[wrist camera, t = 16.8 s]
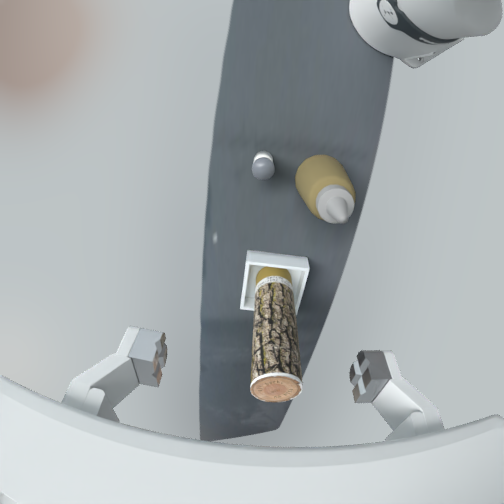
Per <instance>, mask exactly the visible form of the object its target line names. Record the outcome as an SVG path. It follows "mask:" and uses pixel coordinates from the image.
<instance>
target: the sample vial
mask: <svg viewBox="0 0 504 504" xmlns="http://www.w3.org/2000/svg"><path fill="white" fill-rule="evenodd" d="M274 171H275V167H274V164H273V158H272V155H271V154H270V153H269V152H267V151H260V152H258V153H257V154H256V155H255V157H254V163H253V165H252V172H253V175H254V176H255V177H256V178H258V179H260V180H267V179H269V178H271V177H272V176H273V174H274Z"/></svg>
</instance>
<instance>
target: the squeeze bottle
mask: <svg viewBox="0 0 504 504" xmlns="http://www.w3.org/2000/svg"><path fill="white" fill-rule="evenodd" d="M295 182H296V188H297V190H298V192H299V194H300V196H301V197H302V199H303V200H304V202H305V203H306V205H307V206H308V208H309V209H310V211H311V212H312V213H313V214H314V215H315V216H316V217H317V218H318V219H321V220H325V221H326V222H329V223H341V224H345V223H347V222H348V218H349V217H350V216H351V214H352V212H353V210H354V204H355V194H356V193H355V190H354V188H353V185H352V183H351V181H350V179H349V177H348V175H347V174H346V172H345V170H344V168H343V166H342V165H341V164H340V163H339V162H338V161H337V160H336V159H335V158H333V157H330V156H327V155H314V156H312V157H310V158H308V159H306V160H305V161H304V162H303V163H302V164H301V165H300V166H299V167H298V170H297V173H296V176H295Z"/></svg>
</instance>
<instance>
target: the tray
mask: <svg viewBox="0 0 504 504" xmlns="http://www.w3.org/2000/svg"><path fill="white" fill-rule="evenodd" d="M266 266H267V267H276V268H284V269H287V270H288V271H289V273H290V275H291V278H292V287H293V294H294V303H295V312H296V315H297V312H298V309H299V305H300V302H301V298H302V295H303V291H304V288H305V284H306V280H307V277H308V273H309V269H310V268H309V263H308V259H307V257H302V256H294V255H286V254H278V253H269V252H261V251H253V250H247V257H246V265H245V273H244V281H243V289H242V296H241V306H240V309H245V310H254V304H255V286H256V276H257V274H258V272H259V271H260V270H261V269H262V268H264V267H266Z"/></svg>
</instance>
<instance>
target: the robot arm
mask: <svg viewBox="0 0 504 504" xmlns="http://www.w3.org/2000/svg"><path fill="white" fill-rule="evenodd" d="M349 11H350V17H351V20H352V22H353V25H354V27H355V29H356V30H357V32H358V33H359V34H360V36H361V37H362V38H363V39H364V40H365V41H366V42H367V43H368V44H369V45H370V46H372V47H373V48H375V49H376V50H378V51H380V52H382V53H384V54H386V55H389V56H393V57H396V58H398V59H400V60H401V61H403V62H404V63H405V64H407V65H408V66H409V67H411V68H418V67H420V66H421V65H423V64H424V63H426V62H428V61H429V60H431V59H432V58H434V57H436V56H437V55H439V54H440V53H442V52H444V51H445V50H447V49H449V48H450V47H452V46H454V45H455V44H457V43H459V42H461V41H462V40H463V39H464V38H465V37H474V36H485V35H488V34H490V33H491V32H492V31H494V30H495V29H496V28H497V26H498V25H499V23H500V21H501V18H502V3H501V0H350V5H349ZM417 58H419V60H418V59H417ZM165 339H166V337H165V333H163V332H159V331H154V330H149V329H144V328H139V327H135V326H129V327H128V329H127V330H126V333H125V335H124V337H123V339H122V341H121V343H120V346H119V348H118V350H117V352H116V354H111V355H110V356H108V357H107V358H105V359H103V360H102V361H100V362H99V363H97V364H96V365H94V366H93V367H91V368H90V369H88V370H86V371H85V372H83V373H82V374H80V375H79V376H77V377H75V378H74V379H73V380H72V381H71V383H70V386H69V387H68V390H67V392H66V394H65V396H64V398H63V400H62V402H61V403H60V402H58V401H55V400H53V399H50V398H48V397H46V396H43V395H41V394H39V393H37V392H34V391H32V390H30V389H28V388H26V387H24V386H22V385H20V384H18V383H16V382H14V381H12V380H10V379H8V378H6V377H4V376H2V375H0V504H504V418H502V417H501V416H500V415H491V416H489V417H486V418H483V419H479V420H477V421H473V422H470V423H467V424H463V425H460V426H456V427H453V428H449V429H444V426H443V423H442V420H441V417H440V414H439V411H438V408H437V407H436V406H435V405H434V404H433V403H432V402H430V401H429V400H428V399H427V398H426V397H425V396H424V395H423V394H422V393H421V392H420V391H418V390H417V389H416V388H415V387H414V386H413V385H412V384H411V383H410V382H408V381H407V380H406V379H403V378H402V375H401V373H400V370H399V367H398V364H397V361H396V359H395V356H394V353H393V352H392V351H380V350H374V351H360V352H359V353H358V355H357V359H358V360H356V361H355V362H353V364H352V366H351V368H350V382H351V383H352V384H353V385H354V386H355V387H354V389H353V396H354V401H355V403H372V405H373V406H374V407H375V408H376V409H377V410H378V412H379V413H380V415H381V416H382V417H383V418H384V420H385V421H386V422H387V423H388V424H389V426H390V427H391V428H392V429H393V432H392V433H391V434H390V435H389V436H388V437H387V438H386V439H385V441H383V442H375V443H366V444H357V445H345V446H329V447H265V446H249V445H238V444H227V443H218V442H211V441H203V440H197V439H190V438H184V437H179V436H174V435H168V434H163V433H159V432H154V431H149V430H146V429H141V428H137V427H133V426H130V425H126V424H122V423H119V419H118V417H117V415H116V413H115V412H114V410H113V408H114V407H115V406H116V405H117V404H118V403H119V402H121V401H122V400H123V399H124V398H125V397H126V396H127V395H129V394H130V393H131V392H132V391H133V390H134V389H135V388H136V387H138V386H139V384H143V385H149V386H154V387H159V384H160V380H161V377H162V372H161V369H162V368H163V367H164V366H165V363H166V359H167V345H166V344H165V343H164V342H165Z"/></svg>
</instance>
